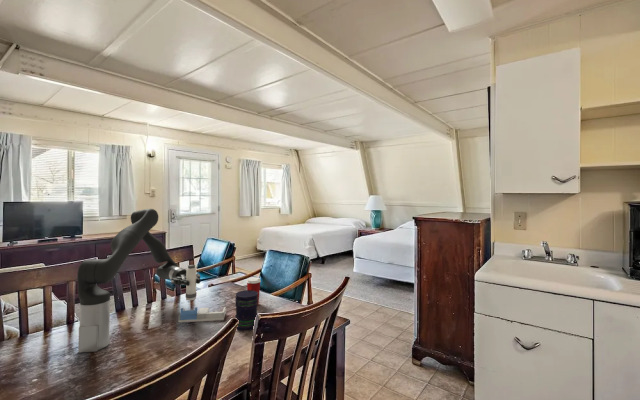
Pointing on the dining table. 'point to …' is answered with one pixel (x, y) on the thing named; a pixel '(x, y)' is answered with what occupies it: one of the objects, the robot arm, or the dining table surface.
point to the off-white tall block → (191, 283)
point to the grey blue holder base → (200, 315)
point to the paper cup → (254, 285)
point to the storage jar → (246, 309)
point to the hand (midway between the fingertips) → (193, 282)
